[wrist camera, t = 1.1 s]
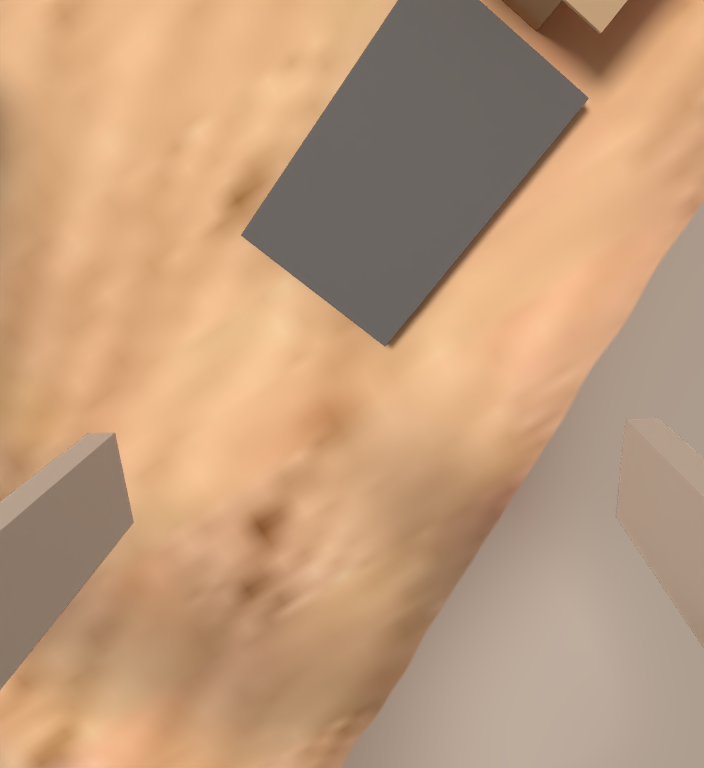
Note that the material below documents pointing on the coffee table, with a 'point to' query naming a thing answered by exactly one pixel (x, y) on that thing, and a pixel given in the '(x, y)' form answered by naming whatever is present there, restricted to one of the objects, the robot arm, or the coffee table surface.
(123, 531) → the robot arm
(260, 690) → the coffee table surface
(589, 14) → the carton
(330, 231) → the mat
